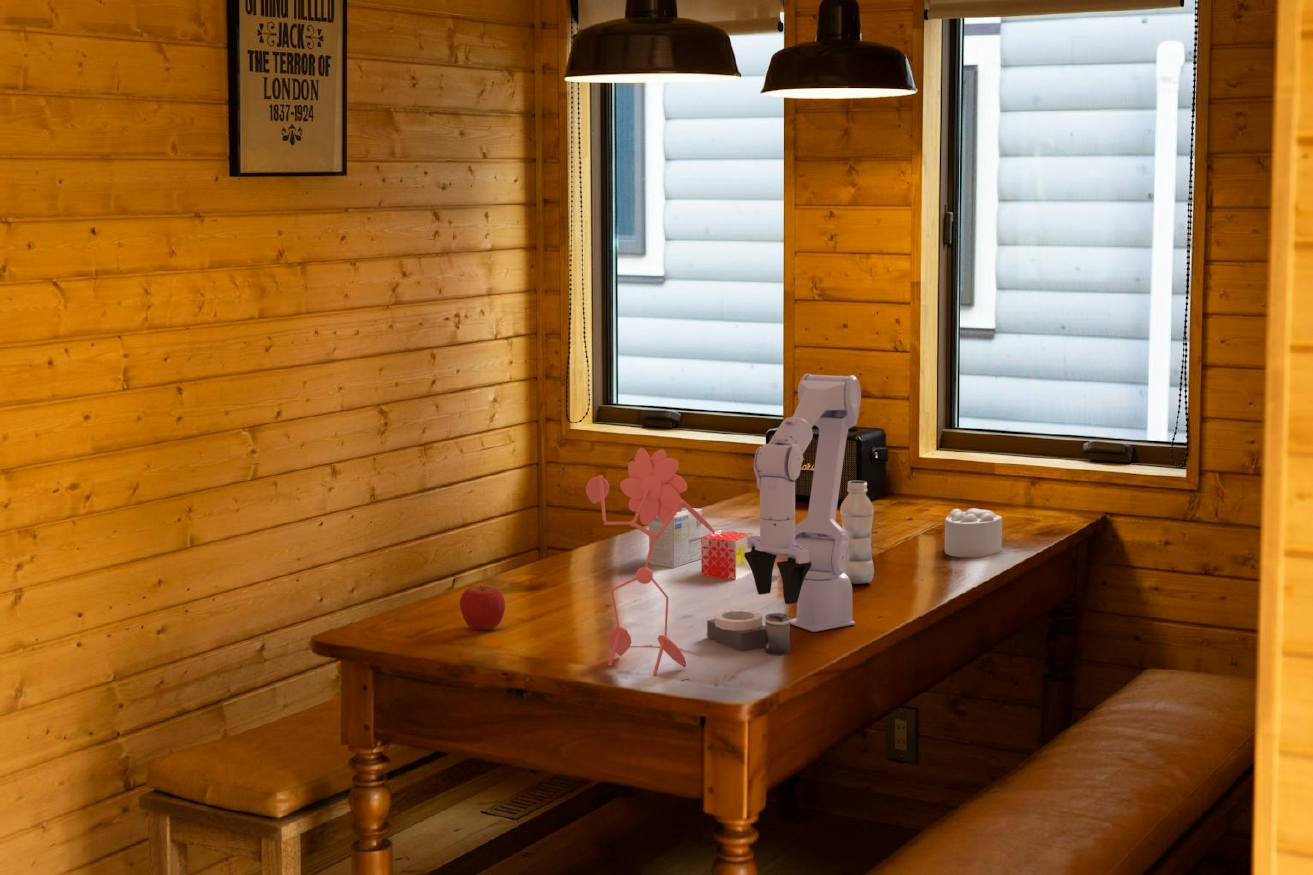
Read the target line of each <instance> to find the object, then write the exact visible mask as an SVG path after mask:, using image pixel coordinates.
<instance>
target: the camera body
mask: <svg viewBox="0 0 1313 875" xmlns="http://www.w3.org/2000/svg"><path fill="white" fill-rule="evenodd" d="M706 622H707V623H706V624H707V625H706V629H707V630H706V631H707V633H706V636H707V638H708V639H710V640H712V641H715V642H718V643H720V644H722V645H724V646H727V647H730V648H731V649H734V650H737V651H740V652H743V651H749V650H753V649H754V650H755V649H759V648H764V647H765V625H763V615H762V613H760V612H759V611H755V610H751V609H750V610H749V609H727V610H721V611H718V612H717V613H715V614H714V618H713V619H708V620H706Z"/></svg>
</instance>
